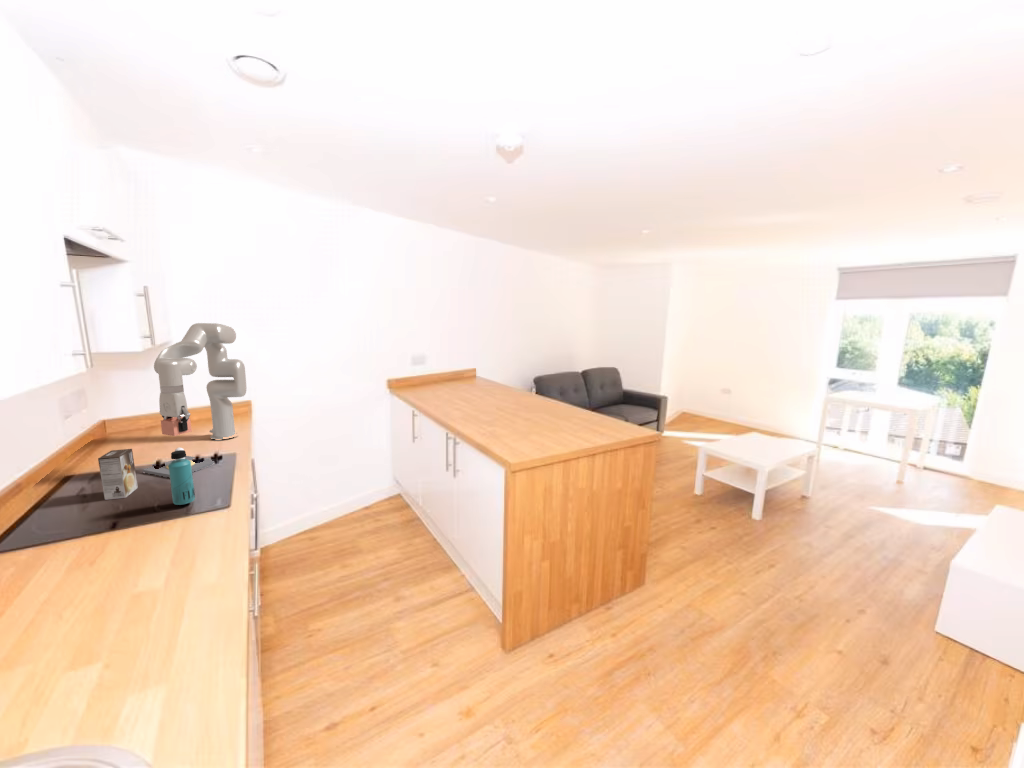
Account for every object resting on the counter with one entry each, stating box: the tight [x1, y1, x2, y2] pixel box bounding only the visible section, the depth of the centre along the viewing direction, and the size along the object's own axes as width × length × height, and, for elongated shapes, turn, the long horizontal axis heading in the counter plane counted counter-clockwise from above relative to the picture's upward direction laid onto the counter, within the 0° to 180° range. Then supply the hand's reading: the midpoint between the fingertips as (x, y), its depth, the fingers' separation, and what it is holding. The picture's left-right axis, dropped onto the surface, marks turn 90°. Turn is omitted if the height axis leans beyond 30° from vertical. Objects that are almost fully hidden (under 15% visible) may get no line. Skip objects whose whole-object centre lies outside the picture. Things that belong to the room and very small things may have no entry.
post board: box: [142, 447, 214, 479], centre depth 176 cm, size 18×18×9 cm
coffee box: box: [97, 448, 139, 501], centre depth 150 cm, size 9×6×16 cm
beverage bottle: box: [168, 449, 196, 506], centre depth 143 cm, size 6×7×20 cm
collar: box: [160, 417, 192, 437], centre depth 173 cm, size 7×7×6 cm
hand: (176, 430), depth 174 cm, fingers closed on collar, 7 cm apart
